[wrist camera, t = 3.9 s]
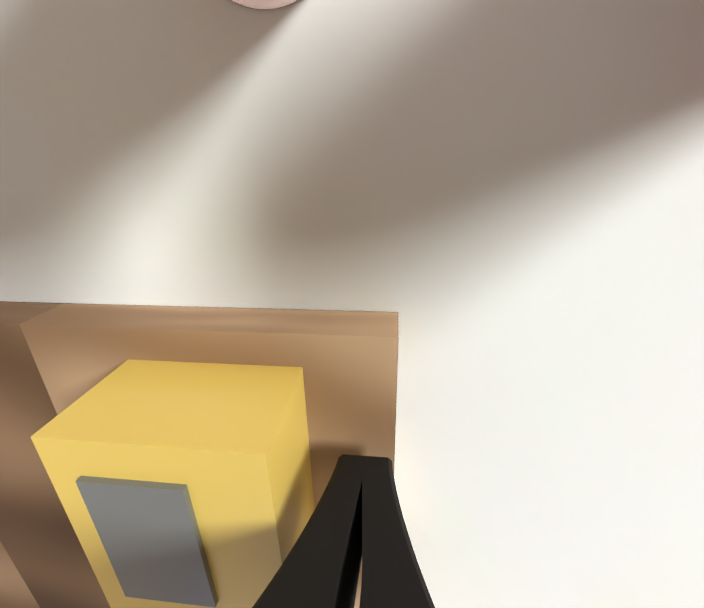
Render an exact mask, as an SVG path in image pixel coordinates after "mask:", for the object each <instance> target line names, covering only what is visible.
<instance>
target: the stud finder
mask: <svg viewBox="0 0 704 608" xmlns="http://www.w3.org/2000/svg"><path fill="white" fill-rule="evenodd" d="M31 439H32V441H33V444H34V446H35V448H36V450H37V452H38V454H39V456H40V458H41V461H42V463H43V465H44V467H45V469H46V471H47V473H48V475H49V478H50V480H51V482H52V484H53V486H54V488H55V490H56V492H57V495H58V497H59V499H60V501H61V503H62V505H63V507H64V509H65V512H66V514H67V516H68V518H69V520H70V522H71V524H72V527H73V529H74V531H75V533H76V535H77V537H78V539H79V541H80V544H81V546H82V548H83V550H84V552H85V554H86V556H87V558H88V561H89V563H90V565H91V567H92V569H93V571H94V573H95V575H96V578H97V580H98V582H99V584H100V586H101V588H102V590H103V592H104V595H105V597H106V599H107V601H108V603H109V605H110V607H111V608H252V607H253V606H254V604H255V603H256V601H257V600H258V599H259V597H260V596H261V594H262V593H263V592H264V590H265V589H266V587H267V586H268V584H269V583H270V582H271V580H272V579H273V577H274V576H275V574H276V573H277V571H278V570H279V568H280V567H281V565H282V564H283V562H284V560H285V559H286V557H287V556H288V554H289V552H290V551H291V549H292V548H293V546H294V544H295V543H296V541H297V539H298V538H299V536H300V535H301V533H302V531H303V530H304V528H305V526H306V524H307V523H308V521H309V519H310V517H311V515H312V513H313V512H314V510H315V507H314V495H313V484H312V472H311V460H310V449H309V437H308V426H307V414H306V403H305V391H304V380H303V368H302V367H284V366H262V365H239V364H217V363H195V362H172V361H150V360H127V361H126V362H124V363H123V364H122V365H121V366H119V367H118V368H117V369H116V370H114V371H113V372H112V373H110V374H109V375H108V376H107V377H105V378H104V379H103V380H102V381H100V382H99V383H98V384H97V385H95V386H94V387H93V388H92V389H90V390H89V391H88V392H86V393H85V394H84V395H83V396H81V397H80V398H79V399H78V400H76V401H75V402H74V403H73V404H71V405H70V406H69V407H67V408H66V409H65V410H64V411H62V412H61V413H60V414H59V415H57V416H56V417H55V418H54V419H52V420H51V421H50V422H48V423H47V424H46V425H45V426H43V427H42V428H41V429H40V430H38V431H37V432H36V433H35V434H33V435H32V436H31Z"/></svg>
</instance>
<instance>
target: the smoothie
mask: <svg viewBox="0 0 704 608" xmlns="http://www.w3.org/2000/svg"><path fill="white" fill-rule="evenodd" d="M231 1H233V2H235V3H238V4H240V5H243V6H246V7H250V8H255V9H274V8H279V7H283V6H286V5H289V4H291V3H293V2H295V1H297V0H231Z"/></svg>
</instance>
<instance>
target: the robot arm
mask: <svg viewBox="0 0 704 608" xmlns="http://www.w3.org/2000/svg"><path fill="white" fill-rule="evenodd" d="M361 560H362V581H361V595H360V606H359V608H435V607H434V604H433V602H432V599H431V597H430V594H429V592H428V589H427V586H426V584H425V581H424V578H423V576H422V573H421V570H420V568H419V565H418V562H417V559H416V556H415V553H414V551H413V548H412V545H411V541H410V538H409V535H408V532H407V529H406V525H405V522H404V519H403V515H402V512H401V508H400V504H399V500H398V496H397V491H396V486H395V481H394V475H393V465H392V460H391V459H389V458H388V457H375V456H361V455H347V454H342V455H341V456H340V457H339V458H338V461H337V464H336V466H335V469H334V471H333V473H332V476H331V478H330V480H329V482H328V485H327V487H326V489H325V491H324V493H323V495H322V497H321V499H320V501H319V502H318V504H317V506H316V508H315V510H314V512H313V513H312V515H311V517H310V519H309V521H308V523H307V524H306V526H305V528H304V530H303V531H302V533H301V535H300V536H299V538H298V539H297V541H296V543H295V544H294V546H293V548H292V549H291V551H290V552H289V554H288V556H287V557H286V559H285V560H284V562H283V564H282V565H281V567H280V568H279V570H278V571H277V573H276V574H275V576H274V577H273V579H272V580H271V582H270V583H269V584H268V586H267V587H266V589H265V590H264V592H263V593H262V594H261V596H260V597H259V599H258V600H257V601H256V603H255V604H254V606H253V607H252V608H354V605H355V599H356V592H357V586H358V579H359V573H360V566H361Z"/></svg>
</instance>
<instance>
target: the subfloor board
mask: <svg viewBox="0 0 704 608" xmlns="http://www.w3.org/2000/svg"><path fill="white" fill-rule="evenodd" d="M127 360H150V361H172V362H195V363H217V364H239V365H262V366H284V367H302V368H303V380H304V391H305V403H306V414H307V426H308V437H309V449H310V460H311V472H312V484H313V495H314V507H315V508H316V506H317V504H318V502H319V501H320V499H321V497H322V495H323V493H324V491H325V489H326V487H327V485H328V482H329V480H330V478H331V476H332V473H333V471H334V469H335V466H336V464H337V461H338V458H339V457H340V456H341V455H342V454H347V455H361V456H375V457H388V458H389V459H391V460H392V465H393V475H394V454H395V424H396V393H397V363H398V312H367V311H330V310H293V309H256V308H219V307H182V306H145V305H108V304H71V303H34V302H0V608H111V607H110V605H109V603H108V601H107V599H106V597H105V595H104V592H103V590H102V588H101V586H100V584H99V582H98V580H97V578H96V575H95V573H94V571H93V569H92V567H91V565H90V563H89V561H88V558H87V556H86V554H85V552H84V550H83V548H82V546H81V544H80V541H79V539H78V537H77V535H76V533H75V531H74V529H73V527H72V524H71V522H70V520H69V518H68V516H67V514H66V512H65V509H64V507H63V505H62V503H61V501H60V499H59V497H58V495H57V492H56V490H55V488H54V486H53V484H52V482H51V480H50V478H49V475H48V473H47V471H46V469H45V467H44V465H43V463H42V461H41V458H40V456H39V454H38V452H37V450H36V448H35V446H34V444H33V441H32V439H31V436H32V435H33V434H35V433H36V432H37V431H38V430H40V429H41V428H42V427H43V426H45V425H46V424H47V423H48V422H50V421H51V420H52V419H54V418H55V417H56V416H57V415H59V414H60V413H61V412H62V411H64V410H65V409H66V408H67V407H69V406H70V405H71V404H73V403H74V402H75V401H76V400H78V399H79V398H80V397H81V396H83V395H84V394H85V393H86V392H88V391H89V390H90V389H92V388H93V387H94V386H95V385H97V384H98V383H99V382H100V381H102V380H103V379H104V378H105V377H107V376H108V375H109V374H110V373H112V372H113V371H114V370H116V369H117V368H118V367H119V366H121V365H122V364H123V363H124V362H126V361H127ZM361 581H362V560H361V566H360V573H359V579H358V586H357V592H356V599H355V605H354V608H359V606H360V595H361Z"/></svg>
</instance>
